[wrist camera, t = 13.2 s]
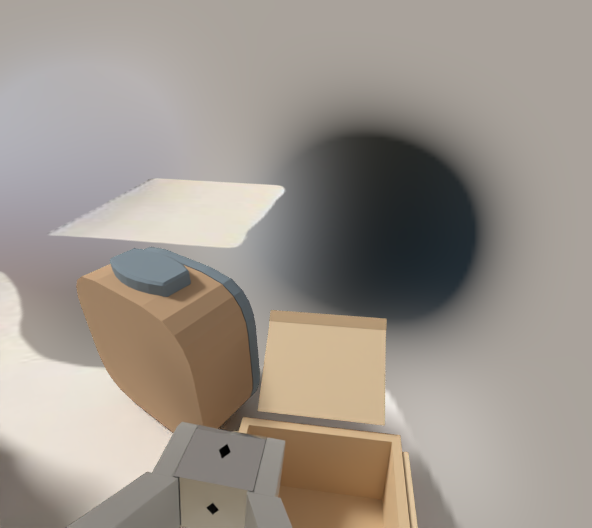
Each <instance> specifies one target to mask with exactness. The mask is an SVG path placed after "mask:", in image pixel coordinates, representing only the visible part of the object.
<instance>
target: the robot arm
mask: <svg viewBox="0 0 592 528" xmlns="http://www.w3.org/2000/svg"><path fill="white" fill-rule="evenodd" d="M284 451H285V440H279V439H274V438H267V437H264V436H258V435H252V434H246V433H240V432H234V431H233V432H231V431H226V430H221V429H216V428H212V427H207V426H202V425H196V424H191V423H186V422H181V423H180V424H179V425H178V426H177V428H176V430H175V431H174V433H173V435H172V437H171V439H170V441H169V442H168V444H167V446H166V448H165V450H164V452H163V454H162V455H161V457H160V459H159V461H158V463H157V465H156V466H155V468H154V470H153V472H152V473H150V472H146V473H144V474H143V475H142V476H140V477H139V478H137V479H136V480H134V481H133V482H131V483H130V484H129V485H127V486H126V487H124V488H123V489H121V490H120V491H118V492H117V493H115V494H114V495H113V496H111V497H110V498H108V499H107V500H105V501H104V502H102V503H101V504H99V505H98V506H97V507H95V508H94V509H92V510H91V511H89V512H88V513H86V514H85V515H84V516H82V517H81V518H79V519H78V520H76V521H75V522H73V523H72V524H70V525H69V526H68V527H66V528H180V527H186V528H292V525H291V523H290V520H289V518H288V515H287V513H286V510H285V508H284V505H283V503H282V500H281V498H279V497H278V495H279V489H280V481H281V474H282V467H283V459H284Z"/></svg>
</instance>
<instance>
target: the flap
mask: <svg viewBox="0 0 592 528" xmlns="http://www.w3.org/2000/svg"><path fill="white" fill-rule="evenodd" d="M269 321H270V324H269V331H268V339H267V346H266V353H265V360H264V367H263V375H262V382H261V389H260V396H259V404H258V411H261V412H270V413H278V414H287V415H296V416H305V417H313V418H322V419H331V420H340V421H349V422H357V423H366V424H375V425H385V353H386V352H385V351H386V348H385V347H386V319H382V318H369V317H356V316H342V315H330V314H316V313H302V312H290V311H277V310H271V313H270V320H269Z"/></svg>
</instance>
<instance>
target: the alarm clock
mask: <svg viewBox="0 0 592 528" xmlns="http://www.w3.org/2000/svg"><path fill="white" fill-rule="evenodd" d="M76 287H77V293H78V298H79V301H80V304H81V307H82V310H83V312H84V315H85V318H86V321H87V323H88V326H89V329H90V332H91V334H92V337H93V340H94V342H95V345H96V348H97V351H98V353H99V355H100V358H101V360H102V362H103V364H104V366H105V368H106V370H107V372H108V373H109V375H110V376H111V378H112V379H113V381H114V382H115V383H116V384H117V385H118V387H119V388H120V389H121V390H122V391H123V392H124V393H125V394H126V395H127V396H128V397H129V398H130V399H132V400H133V401H134V402H135V403H136V404H137V405H139V406H140V407H141V408H142V409H144V410H145V411H146V412H148V413H149V414H150V415H151V416H153V417H154V418H155V419H156V420H158V421H159V422H160V423H162V424H163V425H164V426H165V427H167V428H168V429H169V430H171V431H172V432H173V433H174V431H175V430H176V428H177V426H178V425H179V424H180V423H181V422H186V423H191V424H196V425H202V426H207V427H212V428H216V429H218V428H219V427H220V426H221V425H222V424H223V423H224V422H225V421H226V420H227V419H228V418H229V417H230V416H231V415H232V414H233V413H235V412H236V411H237V410H238V409H239V408H240V407H241V406H242V405H243V404H244V403H245V402H246V401H247V400H248V399H249V398H250V397H251V396H252V395H253V394H254V393H255V392H256V390H257V388H258V385H259V382H260V369H259V358H258V347H257V336H256V325H255V320H254V314H253V311H252V308H251V306H250V303H249V300H248V299H247V297H246V295H245V294H244V292H243V291H242V289H241V288H240V287H239V286H238V285H237V284H236V283H235V282H234V281H233V280H232V279H231V278H229V277H227V276H225V275H223V274H221V273H220V272H218V271H217V270H215V269H213V268H211V267H209V266H206V265H204V264H201V263H199V262H196V261H193V260H191V259H189V258H186V257H184V256H181V255H178V254H176V253H173V252H171V251H168V250H165V249H160V248H155V247H149V248H146V249H144V250H143V249H136V248H134V249H132V250H130V251H127V252H125V253H122V254H120V255H118V256H115V257H113V258H111V259H110V265H108V266H105V267H103V268H100V269H98V270H96V271H93V272H91V273H89V274H87V275H84V276H82V277H81V278H79V279H78V280H77V286H76Z"/></svg>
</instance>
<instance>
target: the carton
mask: <svg viewBox="0 0 592 528" xmlns="http://www.w3.org/2000/svg"><path fill="white" fill-rule="evenodd" d="M234 432H240V433H246V434H252V435H258V436H264V437H267V438H274V439H279V440H285V451H284V459H283V467H282V474H281V481H280V489H279V495H278V497H279V498H281V500H282V503H283V505H284V508H285V510H286V513H287V515H288V518H289V520H290V523H291V525H292V528H418V526H417V518H416V510H415V502H414V494H413V485H412V477H411V469H410V461H409V453H408V452H402V448H401V439H400V435H394V434H386V433H377V432H368V431H360V430H351V429H343V428H334V427H325V426H317V425H308V424H300V423H291V422H283V421H274V420H265V419H257V418H248V417H243V419H242V422H241V425H240V428H239V431H234Z"/></svg>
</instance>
